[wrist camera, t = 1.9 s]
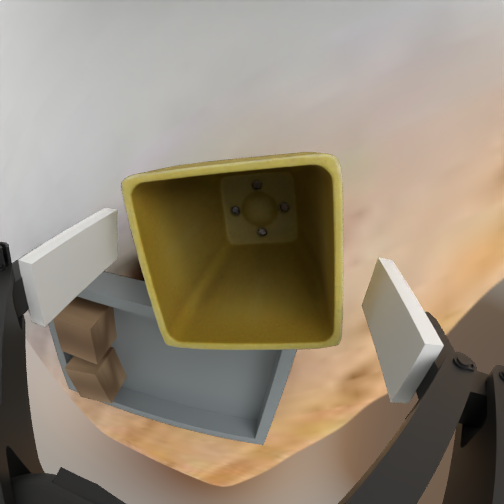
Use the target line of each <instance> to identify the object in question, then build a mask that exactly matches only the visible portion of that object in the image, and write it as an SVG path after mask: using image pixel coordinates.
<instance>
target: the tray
mask: <svg viewBox="0 0 504 504" xmlns="http://www.w3.org/2000/svg"><path fill="white" fill-rule="evenodd" d="M77 297H81V298H84V299H87V300H90V301H94V302H97V303H100V304H104V305H107V306H110V307H113V309H114V318H115V326H116V333H117V338H116V339H115V341H114V342H113V343H112V345H111V346H110V347H114V349H115V352H116V354H117V356H118V358H119V360H120V363H121V365H122V367H123V369H124V371H125V373H126V375H127V377H126V379H125V381H124V383H123V384H122V386H121V388H120V390H119V391H118V393H117V395H116V397H115V398H114V400H113V402H112V404H111V403H106V402H103V403H105V404H108V405H111V406H113V407H116V408H119V409H122V410H124V411H127V412H130V413H133V414H136V415H139V416H142V417H145V418H149V419H152V420H155V421H158V422H162V423H165V424H169V425H172V426H176V427H180V428H183V429H187V430H191V431H195V432H199V433H204V434H208V435H213V436H217V437H222V438H227V439H232V440H237V441H243V442H248V443H254V444H261V445H263V444H264V442H265V439H266V437H267V434H268V431H269V429H270V426H271V423H272V421H273V418H274V415H275V412H276V410H277V407H278V404H279V401H280V398H281V395H282V393H283V390H284V387H285V384H286V381H287V378H288V375H289V372H290V369H291V366H292V363H293V360H294V357H295V354H296V351H297V349H284V350H209V349H191V348H179V347H173V346H169V345H166V343H165V342H164V339H163V337H162V334H161V332H160V329H159V327H158V323H157V320H156V317H155V314H154V311H153V308H152V304H151V300H150V297H149V294H148V291H147V288H146V284H145V281H141V280H136V279H132V278H128V277H124V276H120V275H116V274H112V273H108V272H104V271H103V272H102V273H101V274H100V275H99V276H98V277H97V278H96V279H95V280H93V281H92V282H91V283H90V284H89V285H88V286H87V287H86V288H85V289H84V290H83V291H82V292H81V293H80V294H79V295H77ZM49 328H50V331H51V335H52V338H53V342H54V345H55V348H56V352H57V355H58V358H59V361H60V364H61V367H62V370H63V373H64V376H65V379H66V381H67V384H68V387H69V389H71V390H74V391H76V392H78V391H77V390H76V388H75V386H74V385H73V383H72V381H71V380H70V378H69V376H68V374H67V373H66V371H65V369H64V368H65V367H66V365H67V364H68V363H69V361H70V360H71V359H72V357H73V356H74V355H71V354H69V353H66V352H64V351H62V350H61V347H60V343H59V340H58V336H57V332H56V329H55V325H54V321H53V320H52V321H51V322H50V323H49ZM100 402H102V401H100Z"/></svg>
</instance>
